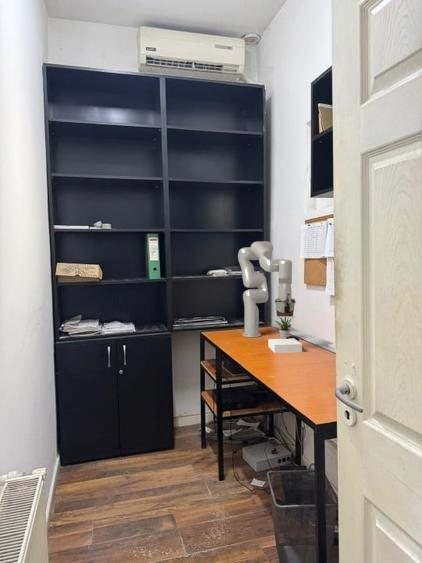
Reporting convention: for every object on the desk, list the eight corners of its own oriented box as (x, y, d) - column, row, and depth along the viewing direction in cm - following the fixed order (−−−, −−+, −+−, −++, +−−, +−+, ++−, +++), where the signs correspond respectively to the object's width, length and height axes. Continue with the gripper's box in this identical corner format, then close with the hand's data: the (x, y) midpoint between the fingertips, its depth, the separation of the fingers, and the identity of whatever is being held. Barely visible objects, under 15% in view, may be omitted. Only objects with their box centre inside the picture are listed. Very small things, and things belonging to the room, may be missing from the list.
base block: (268, 347, 231) (268, 339, 230) (294, 346, 232) (294, 338, 232) (274, 353, 217) (274, 345, 216) (301, 352, 218) (301, 344, 218)
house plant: (290, 335, 259) (290, 311, 257) (301, 340, 246) (301, 315, 244) (271, 337, 254) (271, 313, 253) (281, 342, 241) (281, 316, 240)
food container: (294, 314, 226) (294, 297, 225) (295, 316, 220) (296, 299, 219) (273, 314, 227) (273, 297, 226) (274, 316, 221) (274, 299, 220)
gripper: (273, 280, 228) (273, 310, 230) (284, 282, 212) (284, 315, 213) (285, 279, 230) (284, 309, 232) (297, 282, 213) (297, 314, 215)
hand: (284, 311), depth 223 cm, fingers closed on food container, 5 cm apart
